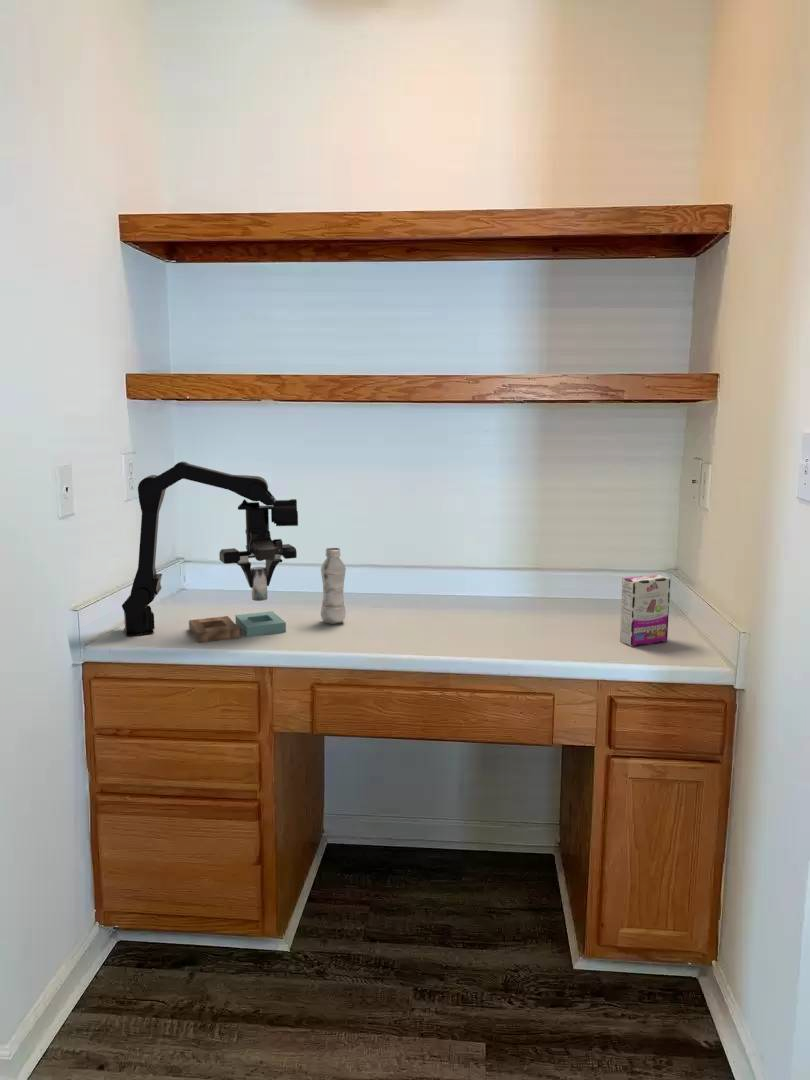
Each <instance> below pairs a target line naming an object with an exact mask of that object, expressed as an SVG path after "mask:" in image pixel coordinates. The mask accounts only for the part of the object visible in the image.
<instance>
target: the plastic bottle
mask: <svg viewBox="0 0 810 1080" xmlns="http://www.w3.org/2000/svg"><path fill="white" fill-rule="evenodd" d="M325 557H326V559H325V560H324V561H323V562H322V564H321V567H320V573H321V575H320V576H321V580H322V602H321V604H322V605H321V609H320V617H321V618H320V619H321V620H322V622H323V623H325V624H332V623H334V624H340V623H343V622H344V620H345V619H346V613H347V611H346V605H345V597H344V588H345V587H344V586H345V578H346V577H345V576H346V569H347V568H346V565H345V563H344V562H343V561H342V559H341V548H338V547H326V548H325Z"/></svg>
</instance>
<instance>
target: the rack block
mask: <svg viewBox="0 0 810 1080" xmlns="http://www.w3.org/2000/svg"><path fill="white" fill-rule="evenodd" d="M235 624H236V625H237V626H238V627H239V631H241V632H242V633H243V634H244V635H245V636H246V637H248V638H249V637H255V636H264V635H266V636H267V635H272V634H280V633H281V634H282V633H286V632H287V624H286V621H284V619H282V617H280V616H279V615H277V614H276V613H275V612H274V611H261V612H260V611H259V612H254V613H253V612H251V613H241V614H236V615H235Z"/></svg>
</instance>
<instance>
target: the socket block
mask: <svg viewBox="0 0 810 1080" xmlns="http://www.w3.org/2000/svg"><path fill="white" fill-rule="evenodd" d="M188 630H189V631H190V633H191V635H192V636H193V637H194V639H195V640H196V641H197V643H199V644H200V643H207V642H214V641H216V642H218V641H225V640H231V639H232V640H233V639H239V638H240V628H239V627H238V626H237V625H236V622H234V621H233V620H232V618H231V617H229V616H228V615H224V616H217V617H214V616H213V617H207V618H199V619H198V618H197V619H190V620H188Z"/></svg>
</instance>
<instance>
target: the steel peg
mask: <svg viewBox="0 0 810 1080" xmlns="http://www.w3.org/2000/svg"><path fill="white" fill-rule="evenodd" d="M251 576H252V588H251V600H252V601H254V602H257V601H258V602H261V601H267V600H268V598H269V597H268V586H267V568H266V566H254V567H251Z"/></svg>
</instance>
